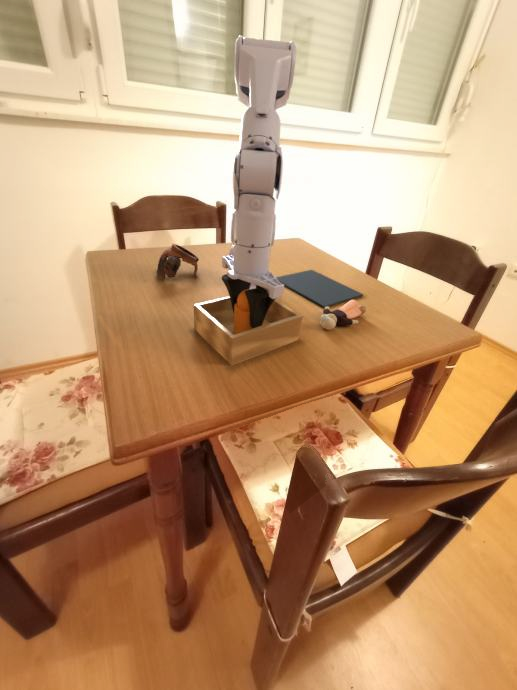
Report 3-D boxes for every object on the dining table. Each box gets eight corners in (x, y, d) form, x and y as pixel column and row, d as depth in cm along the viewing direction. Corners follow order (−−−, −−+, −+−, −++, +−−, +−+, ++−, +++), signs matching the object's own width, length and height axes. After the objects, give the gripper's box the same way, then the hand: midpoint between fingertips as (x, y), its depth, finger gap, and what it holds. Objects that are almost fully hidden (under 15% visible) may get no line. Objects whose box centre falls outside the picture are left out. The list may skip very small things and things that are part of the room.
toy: (228, 328, 57) (229, 287, 52) (249, 321, 60) (252, 282, 55) (243, 340, 54) (245, 298, 49) (264, 333, 56) (269, 293, 52)
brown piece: (158, 268, 82) (172, 240, 80) (190, 286, 84) (205, 259, 82) (145, 273, 71) (161, 241, 69) (182, 294, 73) (199, 263, 71)
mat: (273, 279, 81) (273, 278, 81) (311, 271, 89) (311, 269, 88) (323, 308, 70) (324, 306, 69) (362, 295, 77) (363, 294, 77)
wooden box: (194, 331, 57) (193, 304, 54) (257, 313, 65) (259, 288, 62) (231, 367, 49) (232, 338, 46) (298, 342, 57) (302, 315, 54)
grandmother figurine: (372, 302, 65) (342, 319, 57) (369, 319, 67) (340, 338, 58) (339, 295, 70) (307, 309, 61) (337, 311, 71) (306, 327, 63)
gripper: (206, 232, 50) (207, 307, 58) (260, 260, 41) (252, 345, 49) (242, 228, 54) (238, 299, 62) (299, 253, 45) (286, 333, 52)
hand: (247, 319), depth 55 cm, fingers closed on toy, 5 cm apart
